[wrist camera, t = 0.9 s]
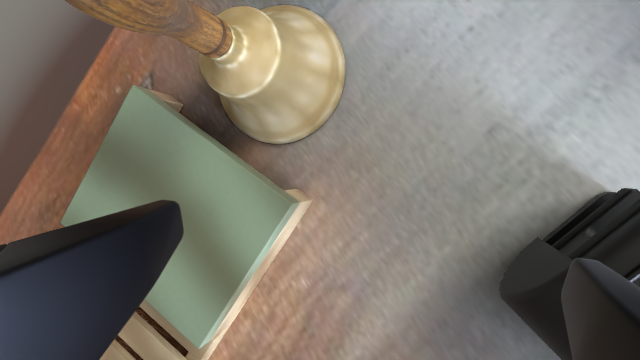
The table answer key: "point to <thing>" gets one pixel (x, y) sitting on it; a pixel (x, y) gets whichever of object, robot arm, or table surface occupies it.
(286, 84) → the hand bell
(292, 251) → the table surface
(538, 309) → the end cap
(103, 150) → the rack
